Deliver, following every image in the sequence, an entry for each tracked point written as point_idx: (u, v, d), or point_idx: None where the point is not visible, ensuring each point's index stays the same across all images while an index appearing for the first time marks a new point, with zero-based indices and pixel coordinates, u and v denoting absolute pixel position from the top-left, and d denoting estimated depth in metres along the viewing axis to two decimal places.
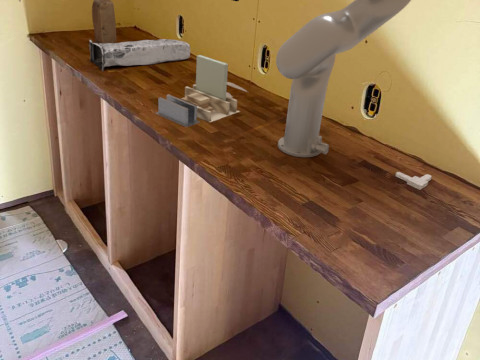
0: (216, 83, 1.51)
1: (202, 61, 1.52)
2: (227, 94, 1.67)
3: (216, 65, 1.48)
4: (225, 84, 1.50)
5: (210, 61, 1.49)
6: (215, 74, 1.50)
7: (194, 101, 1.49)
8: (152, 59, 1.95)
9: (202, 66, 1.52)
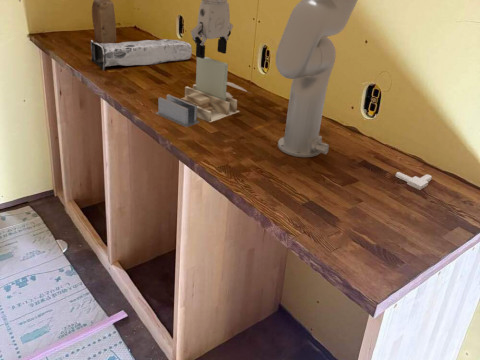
0: (216, 83, 1.51)
1: (202, 61, 1.52)
2: (227, 94, 1.67)
3: (216, 65, 1.48)
4: (225, 84, 1.50)
5: (210, 61, 1.49)
6: (215, 74, 1.50)
7: (194, 101, 1.49)
8: (153, 59, 1.95)
9: (202, 66, 1.52)
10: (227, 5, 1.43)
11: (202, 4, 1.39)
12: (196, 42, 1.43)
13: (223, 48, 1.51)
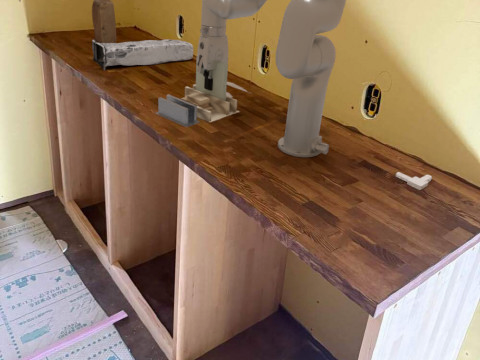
0: (216, 83, 1.51)
1: None
2: (227, 94, 1.67)
3: None
4: (225, 84, 1.50)
5: None
6: (215, 74, 1.50)
7: (194, 101, 1.49)
8: (154, 59, 1.95)
9: None
10: (226, 37, 1.47)
11: (201, 38, 1.43)
12: (204, 76, 1.50)
13: None
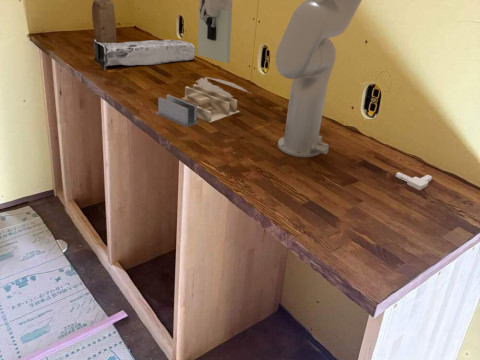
0: (219, 33, 1.43)
1: None
2: (227, 94, 1.67)
3: None
4: (229, 33, 1.42)
5: None
6: (218, 23, 1.42)
7: (194, 101, 1.49)
8: (155, 59, 1.95)
9: None
10: None
11: None
12: (207, 24, 1.42)
13: None
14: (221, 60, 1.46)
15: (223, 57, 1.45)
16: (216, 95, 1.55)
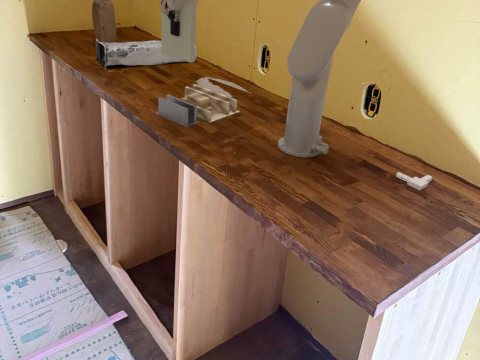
0: (183, 29, 1.31)
1: None
2: (227, 94, 1.67)
3: None
4: (193, 30, 1.30)
5: None
6: (182, 18, 1.30)
7: (194, 101, 1.49)
8: (156, 59, 1.95)
9: None
10: None
11: None
12: (170, 18, 1.30)
13: None
14: (185, 59, 1.34)
15: (187, 56, 1.33)
16: (216, 95, 1.55)
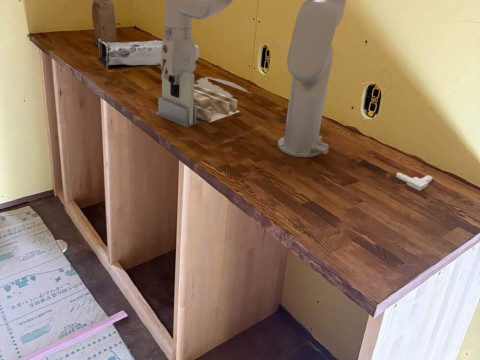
0: (182, 94, 1.40)
1: None
2: (227, 94, 1.67)
3: (182, 75, 1.37)
4: (192, 95, 1.39)
5: None
6: (181, 84, 1.39)
7: (194, 101, 1.49)
8: (158, 59, 1.95)
9: None
10: (192, 40, 1.35)
11: (164, 40, 1.32)
12: (170, 81, 1.38)
13: None
14: None
15: None
16: (216, 95, 1.55)
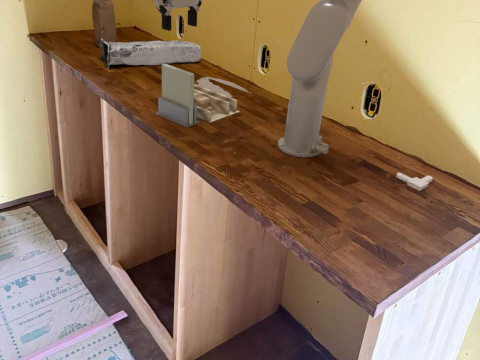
0: (182, 94, 1.40)
1: (167, 70, 1.40)
2: (227, 94, 1.67)
3: (182, 75, 1.37)
4: (192, 95, 1.39)
5: (175, 71, 1.38)
6: (181, 84, 1.39)
7: (194, 101, 1.49)
8: (160, 59, 1.95)
9: (167, 76, 1.41)
10: None
11: None
12: (161, 12, 1.26)
13: (193, 20, 1.35)
14: None
15: None
16: (216, 95, 1.55)
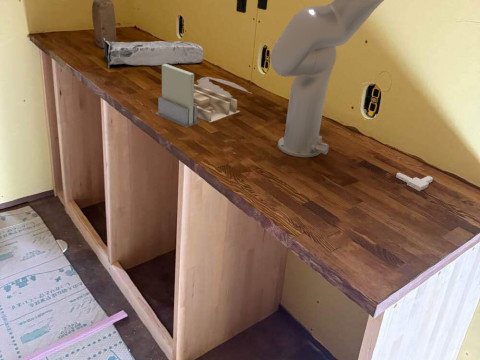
0: (182, 94, 1.40)
1: (167, 70, 1.40)
2: (227, 94, 1.67)
3: (182, 75, 1.37)
4: (192, 95, 1.39)
5: (175, 71, 1.38)
6: (181, 84, 1.39)
7: (194, 101, 1.49)
8: (161, 60, 1.94)
9: (167, 76, 1.41)
10: None
11: None
12: None
13: (264, 4, 1.43)
14: None
15: None
16: (216, 95, 1.55)
